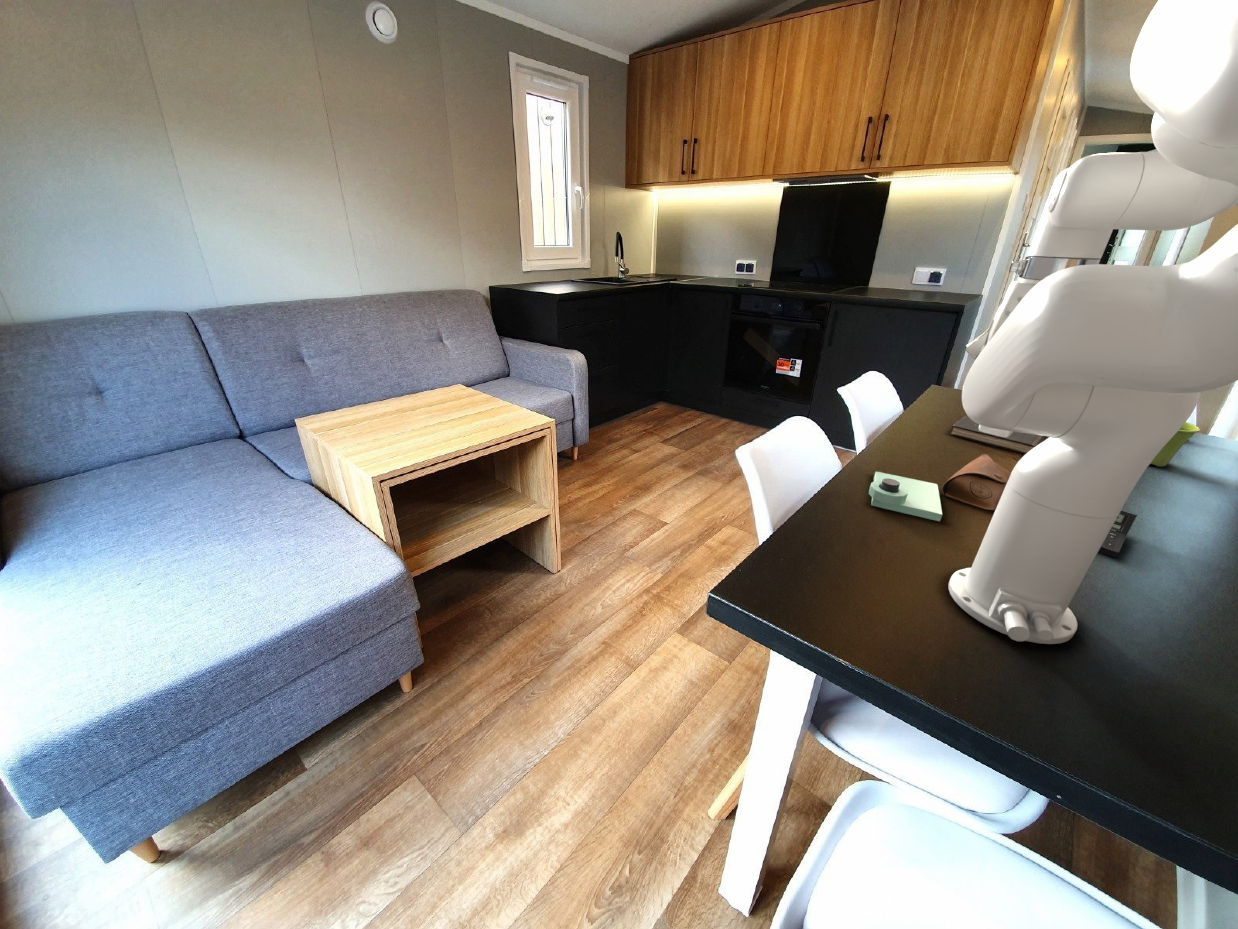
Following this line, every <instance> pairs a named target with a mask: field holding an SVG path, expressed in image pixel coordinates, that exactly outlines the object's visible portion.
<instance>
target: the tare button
mask: <svg viewBox="0 0 1238 929" xmlns="http://www.w3.org/2000/svg"><path fill="white" fill-rule="evenodd" d="M899 486H900V483H899V482H898V481H896V480H894V479H889V478H885V479H883V480H882V483H881V487H880V488H881V489H882V490H884V491H886V492H891V493H897V492H898V489H899Z"/></svg>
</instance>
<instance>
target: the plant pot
mask: <svg viewBox="0 0 1238 929" xmlns="http://www.w3.org/2000/svg"><path fill="white" fill-rule="evenodd" d="M1199 432H1201V428H1200V427H1199V426H1197V425H1195V424H1192V423H1190V422H1187V421H1186V422H1185V423H1184V424H1183V426H1182V427H1181V428H1180V429H1179V430H1178V432H1177V433H1176V434H1175V435H1174V436H1173V437H1172V438H1171V439H1170V440H1169V441H1168V442H1167V444H1166V445H1165V446H1164V447H1163V448H1162V449H1161V451H1160V452H1159V453H1158V454H1157V455H1156V456H1155V458H1154V459H1153V460H1152V462H1151V463H1150V464H1149V465H1154V466H1156V467H1166V466H1167V465H1168V464H1169V463H1170V462H1171V460H1172V459H1173V458H1174V456H1176V454H1177V453H1178V452H1179V450H1180V449H1181V448H1182V447H1183V446H1184V445H1185V443H1186V442H1187V441H1188V440H1190V439H1191V438H1193V436H1194V435H1195V434H1196V433H1197V434H1198V433H1199Z"/></svg>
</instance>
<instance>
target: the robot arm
mask: <svg viewBox="0 0 1238 929" xmlns="http://www.w3.org/2000/svg"><path fill="white" fill-rule="evenodd" d="M1129 73H1130V74H1129V76H1130V77H1129V78H1130V82H1131V85H1132V89H1133V90H1134V92H1135V93H1136V95H1137V96H1138V98H1139V99H1140V100H1141V101H1142V103H1144V104H1145V105H1146V106H1147V107H1148V108H1149V109H1151V110H1152V112H1154V114H1153V116H1152V120H1151V126H1150V127H1151V128H1150V134H1151V139H1152V143H1153V145H1154V147H1155V149H1156V150H1157V151H1139V152H1107V153H1096V154H1090V155H1086V156H1083V157H1081V158H1079V159H1077V160H1076V161H1075V162H1074V163H1072V164H1071V165H1070V166H1069V167H1066V168H1065V169H1063V170H1062V171H1060V172H1059V173H1058V174H1057V176H1056V177H1055V179H1054V180H1053V181H1054V182H1053V184H1052V186H1051V189H1050V191H1049V194H1048V197H1047V200H1046V203H1045V206H1044V208H1043V211H1042V214H1041V216H1040V220H1039V222H1038V225H1037V228H1036V231H1035V233H1034V236H1033V238H1032V242H1031V244H1030V247H1029V250H1028V253H1027V256H1025V258H1023V259H1022V260H1019V261H1011V263H1010V266H1009V269H1008V272H1009V273H1015V274H1017V275H1018V280H1013V281H1011V283H1010V284H1009V286H1008V289H1007V290H1006V291H1005V293H1004V295H1003V297H1002V298H1001V301H1000V303H999V305H998V308H997V309H996V312H995V314H994V316H993V319H992V321H991V323H990V326H989V328H988V329H986V330H985V331H984V332H982V333H981V334H980V335H979V336H977V337H976V338H975V339H973V340H972V341H970V342H968V344H966V345H965V346H964V350H965V351H966V353H967V354H968V355H969V356H970V357H972V358H973V360H974V362H972V364H971V367H969V370H968V371H967V375H966V376H965V379H964V383H963V386H962V390H961V404H962V408H963V410H964V412H965V414H966V415H967V416H968V417H969V418H970V419H971V420H973V421H974V422H976V423H977V424H980V425H982V426H985V427H989V428H994V429H1000V430H1006V431H1013V432H1021V433H1028V434H1035V435H1042V436H1048V437H1047V438H1046V439H1045V441H1043V442H1042V443H1040V444H1039V445H1037V446H1036V447H1034V448H1033V449H1031V450H1030V451H1029V452H1028V453H1027V454H1023V456H1022V457H1021V458H1020V459H1019V460H1018V461H1017V463H1016V464H1015V465H1014V467H1013V468H1012V471H1011V472H1010V473H1011V475H1010V477H1009V480H1008V482H1007V484H1006V486H1005V489H1004V491H1003V493H1002V496H1001V498H1000V501H999V503H998V505H997V507H996V509H995V510H994V512H993V514H992V517H991V520H990V522H989V524H988V527H987V529H986V532H985V534H984V536H983V538H982V541H981V543H980V545H979V548H978V551H977V553H976V555H975V557H974V560H973V562H972V565H971V567H965V568H962V569H958V570H956V571H955V572H954V573H953V574H951V576H950V578H949V581H948V584H947V585H948V588H947V589H948V591H949V595H950V596H951V598H952V599H953V601H954V602H955V603H956V604H957V606H959V607H960V608H961V609H962V610H963V611H964V612H965V613H966V614H968V615H969V616H970V617H972V618H973V619H975V620H976V621H978V622H979V623H980V624H983V625H985V626H987V627H988V628H990V629H992V630H994V631H996V632H998V633H1001V634H1003V635H1006V636H1007V637H1009V638H1010V639H1011V640H1013V641H1016V642H1029V643H1035V644H1039V645H1040V644H1043V645H1044V644H1045V645H1056V644H1057V645H1058V644H1062V643H1066V642H1069V641H1070V640H1071V639H1072V638H1073V637H1074V635H1075V633H1076V632H1077V630H1078V627H1079V626H1078V621H1077V617H1076V616H1075V615H1074V612H1073V611H1072V610H1071V609H1070V608H1069V606H1070V604H1071V602H1072V600H1073V598H1074V596H1075V595H1076V593H1077V591H1078V589H1079V588H1080V585H1081V584H1082V582H1083V580H1084V578H1085V577H1086V575H1087V573H1088V571H1089V569H1090V567H1091V566H1092V564H1093V562H1094V561H1095V558H1096V556H1097V555H1098V554H1099V552H1098V551H1099V549H1100V547H1101V545H1102V544H1103V542H1104V540H1105V538H1106V536H1107V535H1108V533H1109V531H1110V529H1111V527H1112V525H1113V524H1114V522H1115V520H1116V518H1117V516H1118V515H1119V513H1120V511H1123V510H1122V509H1123V508H1124V506H1125V504H1126V503H1127V501H1128V499H1129V498H1130V496H1131V494H1132V492H1133V491H1134V488H1135V487H1136V485H1137V484H1138V482H1139V480H1140V479H1141V477H1142V476H1143V474H1144V473H1145V471H1146V469H1147V468H1148V467H1149V466H1150V465H1151V464H1150V463H1151V462H1152V460H1153V459H1154V458H1155V456H1156V455H1157V454H1158V453H1159V452H1160V451H1161V449H1162V448H1163V447H1164V446H1165V445H1166V444H1167V442H1168V441H1169V440H1170V439H1171V438H1172V437H1173V436H1174V435H1175V434H1176V433H1177V432H1178V430H1179V429H1180V428H1181V427H1182V426H1183V424H1184V423H1185V422H1187V421H1188V420H1189V418H1190V417H1191V415H1192V414H1193V412H1194V410H1195V409H1196V407H1197V405H1198V402H1199V401H1200V396H1201V393H1200V392H1203V393H1205V392H1209V391H1212V390H1216V389H1218V388H1221V387H1224V386H1227V385H1229V384H1231V383H1235V382H1237V381H1238V223H1237V224H1236V225H1234V226H1233V227H1232V228H1231V229H1229V231H1227V232H1226V233H1225V234H1224V235H1223V236H1221V237H1220V238H1219V239H1218V240H1217V241H1216V242H1214V244H1212V246H1210V247H1208V249H1206V250H1204V252H1202V253H1201V254H1199V255H1198V256H1197V257H1195V258H1193V259H1192V260H1190V261H1187V262H1183V263H1177V264H1170V265H1134V264H1133V265H1131V264H1130V265H1129V264H1105V263H1104V264H1103V263H1100V262H1101V259H1102V257H1103V255H1104V252H1105V250H1106V247H1107V246H1108V243H1109V240H1110V238H1111V235H1112V233H1113V230H1128V231H1129V230H1131V231H1134V230H1135V231H1154V232H1155V231H1159V232H1161V231H1162V232H1164V231H1165V232H1166V231H1176V230H1182V229H1183V230H1184V229H1188V228H1191V227H1194V226H1197V225H1200V224H1202V223H1204V222H1207V221H1209V220H1211V219H1213V218H1215V217H1216V216H1219V215H1220V214H1222V213H1224V212H1226V211H1228V210H1230V209H1232V208H1234V207H1236V206H1238V0H1157V2H1156V3H1155V5H1154V6H1153V8H1152V10H1150V13H1149V14H1148V16H1147V18H1146V20H1145V21H1144V24H1143V25H1142V28H1141V30H1140V31H1139V34H1138V36H1137V39H1136V41H1135V44H1134V47H1133V50H1132V54H1131V58H1130V64H1129ZM982 347H983V349H982V350H981V348H982ZM1204 391H1205V392H1204Z"/></svg>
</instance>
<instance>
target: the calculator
mask: <svg viewBox="0 0 1238 929" xmlns="http://www.w3.org/2000/svg"><path fill="white" fill-rule="evenodd" d="M1136 518H1137V514H1134V513H1131V512H1127V511H1123V510H1121V511H1120V513H1119V515H1118V516H1117V518H1116V520H1115V522H1114V524H1113V525H1112V527H1111V529H1110V531H1109V533H1108V535H1107V536H1106V538H1105V540H1104V542H1103V544H1102V545H1101V547H1100V549H1099V551H1098V553H1101V554H1104V555H1107V556H1110V557H1112V558H1117V557H1118V555H1119V554H1120V551H1121V549H1122V546H1123V545H1124V542H1125V540H1126V538H1127V535H1128V533H1129V532H1130V529H1131V527H1132V526H1133V524H1134V522H1135V520H1136Z"/></svg>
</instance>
